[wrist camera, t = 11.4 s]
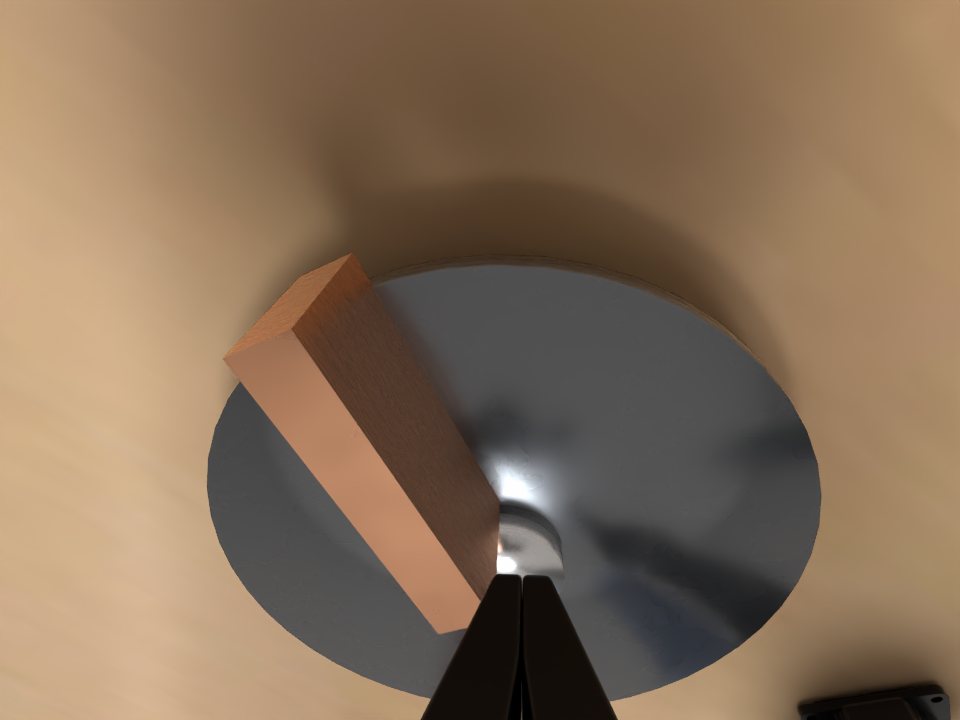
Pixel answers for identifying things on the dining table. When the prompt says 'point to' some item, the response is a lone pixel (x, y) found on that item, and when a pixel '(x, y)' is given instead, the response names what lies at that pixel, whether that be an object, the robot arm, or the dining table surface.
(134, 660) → the dining table surface
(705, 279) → the dining table surface
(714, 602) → the grey disc with hub
